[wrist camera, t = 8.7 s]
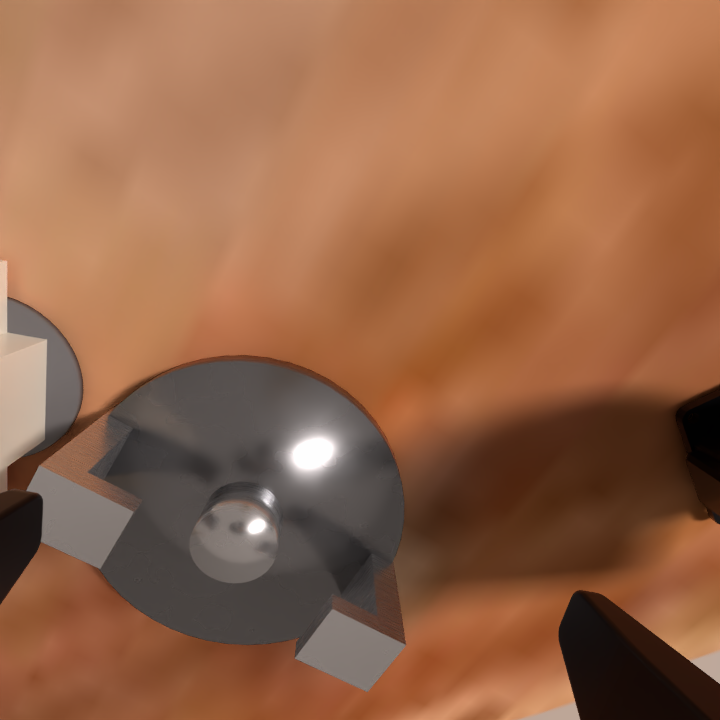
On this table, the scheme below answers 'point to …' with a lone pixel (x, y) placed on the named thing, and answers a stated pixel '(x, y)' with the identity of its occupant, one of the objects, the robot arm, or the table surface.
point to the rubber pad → (51, 371)
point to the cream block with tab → (19, 389)
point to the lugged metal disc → (241, 511)
